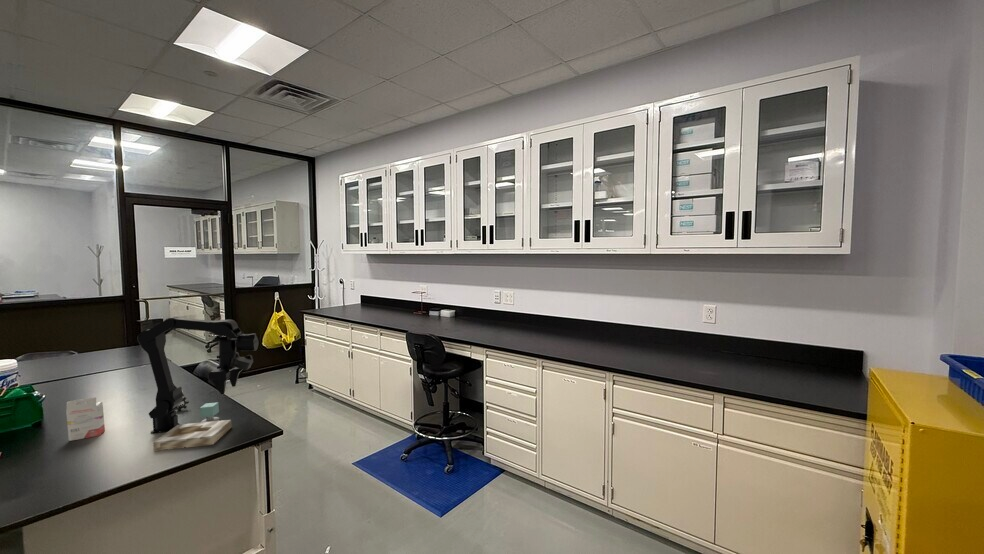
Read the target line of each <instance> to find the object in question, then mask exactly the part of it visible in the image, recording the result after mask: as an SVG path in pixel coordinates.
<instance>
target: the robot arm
mask: <svg viewBox="0 0 984 554" xmlns="http://www.w3.org/2000/svg"><path fill="white" fill-rule="evenodd" d="M174 329H179V330H180V329H181V330H191V331H203V332H208V333H210V334H213V335H216V336H215V337H214V338H213V339H212V340H211V342H215V343H216V342H218V355H216V359H218V365H217V366H216V369H213V370H212V371H209V372H208V373H207V380H208V381H210V382H212V383H213V385H214V386H215V388H216V389H217V390H218V392H219V393H220V395H225V392H226V388H227V387H226V386H227V381H228V380H229V383H230V385H231V387H233V388H234V387H236V386H237V382H238V379H239V375H240V373H241V372H242V371H248V370H249V369H250V368H251V367H252V365H253V363H254V358H253V355H251V354H248V355H246V356H240V353H239V352H248V351H249V352H252V351H257V350H258V348H259V344H260V343H259V339H258V336H257V333H244V331H243V330H242V329H241V328H240V327H239V325H238V322H237V321H235V320H234V319H218V320H206V319H198V318H196V319H195V318H186V317H178V316H171V317H168V318H166V319H165V320H164V321H162V322H160V323H158V324H157V325H155V326H152V328H149V329H144V330H142V331H140V332H139V334H138V335H137V342H138V344H139V345H140V348H141V349H142V350H143V351H145V353H146V354H147V356H148V359H149V363H150V366H151V371H152V373H153V377H154V382H155V385H156V388H157V391H156V395H155V406H154V407H153V409H151V410H150V411H149V413H148V416H149V417H150V419H152V428H153V429H152V430H151V431H150V434H157V433H167V432H168V431H170V430H171V429H173V428H174V427H175V426H177V425H180V423H179V417H178V414H177V411H176V410H178V409H177V408H179V407H178V405H179V404H180V403H181V402H182V400H183V396H184V397H185V394H184V392H183V393H182V390H183V388H182V386H179V387H177V386H176V385H175V384H174V381H173V378H172V377H173V376H172V375H171V371H170V367H169V362H168V360H167V355H166V353H165V352H166V351H165V347H166V342H167V338H166V337H167V336H166V335H168V334H169V333H171V332H172V331H173V330H174ZM237 351H239V352H237ZM175 409H176V410H175ZM174 410H175V411H174Z"/></svg>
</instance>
